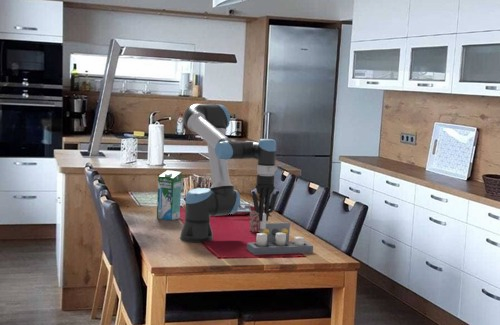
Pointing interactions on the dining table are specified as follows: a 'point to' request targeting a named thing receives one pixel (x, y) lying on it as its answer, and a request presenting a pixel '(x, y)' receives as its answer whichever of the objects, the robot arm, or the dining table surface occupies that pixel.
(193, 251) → the dining table surface
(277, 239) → the button middle
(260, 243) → the button left
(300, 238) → the button right
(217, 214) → the robot arm
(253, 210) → the mug
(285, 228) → the card
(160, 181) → the milk carton
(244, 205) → the maze game
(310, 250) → the button board
